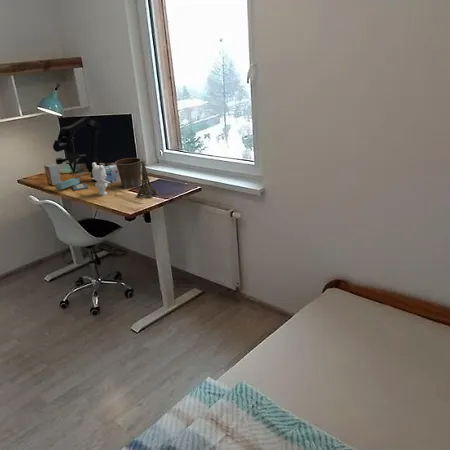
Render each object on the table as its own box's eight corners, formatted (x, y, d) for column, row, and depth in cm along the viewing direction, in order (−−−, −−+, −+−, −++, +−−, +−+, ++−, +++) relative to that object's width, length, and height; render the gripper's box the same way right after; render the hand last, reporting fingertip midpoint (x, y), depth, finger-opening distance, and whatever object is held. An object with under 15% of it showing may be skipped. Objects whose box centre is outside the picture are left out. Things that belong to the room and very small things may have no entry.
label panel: (86, 184, 305) (85, 182, 305) (88, 188, 296) (88, 186, 295) (72, 186, 302) (71, 185, 302) (74, 191, 293) (73, 189, 292)
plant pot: (138, 189, 287) (135, 164, 281) (114, 189, 290) (110, 164, 285) (147, 181, 302) (144, 157, 296) (124, 182, 305) (121, 158, 299)
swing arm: (82, 181, 306) (81, 177, 305) (61, 189, 293) (60, 184, 292) (77, 181, 309) (76, 176, 308) (56, 188, 295) (55, 184, 294)
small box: (47, 184, 313) (43, 165, 308) (56, 181, 317) (52, 163, 312) (52, 186, 307) (48, 167, 302) (61, 183, 311) (57, 165, 306)
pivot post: (80, 183, 308) (79, 181, 308) (80, 184, 306) (80, 182, 305) (75, 184, 307) (75, 182, 307) (76, 185, 305) (75, 183, 304)
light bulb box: (105, 185, 301) (103, 169, 297) (101, 183, 306) (98, 167, 302) (120, 181, 307) (118, 165, 303) (116, 179, 312) (113, 164, 308)
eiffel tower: (144, 192, 281) (138, 151, 271) (159, 193, 277) (154, 152, 268) (135, 197, 271) (129, 155, 262) (150, 198, 268) (145, 156, 259)
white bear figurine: (99, 190, 291) (94, 160, 284) (118, 195, 278) (113, 163, 271) (89, 193, 286) (83, 162, 279) (107, 198, 273) (102, 166, 266)
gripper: (54, 152, 277) (59, 177, 283) (86, 148, 283) (90, 172, 289) (53, 149, 286) (58, 173, 292) (84, 145, 293) (88, 169, 299)
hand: (74, 172), depth 293 cm, fingers closed
